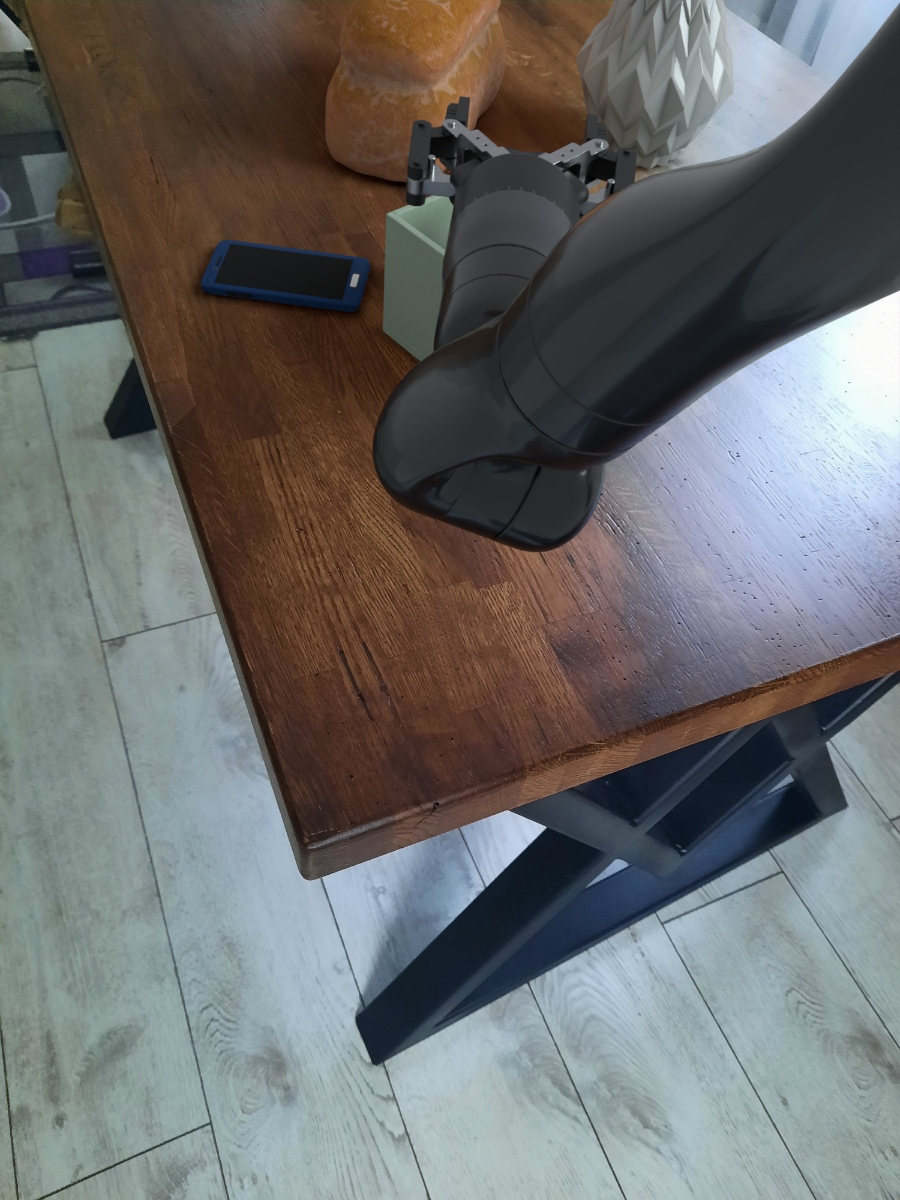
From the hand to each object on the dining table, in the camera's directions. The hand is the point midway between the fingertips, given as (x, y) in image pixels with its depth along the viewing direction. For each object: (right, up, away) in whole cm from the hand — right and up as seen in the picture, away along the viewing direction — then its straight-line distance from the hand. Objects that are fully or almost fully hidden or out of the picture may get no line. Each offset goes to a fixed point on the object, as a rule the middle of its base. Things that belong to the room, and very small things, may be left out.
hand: (526, 119), depth 62 cm
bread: (-9, +19, +39) cm, 44 cm away
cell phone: (-20, -4, +20) cm, 28 cm away
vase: (+15, +17, +40) cm, 46 cm away
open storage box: (-2, -10, +17) cm, 20 cm away
